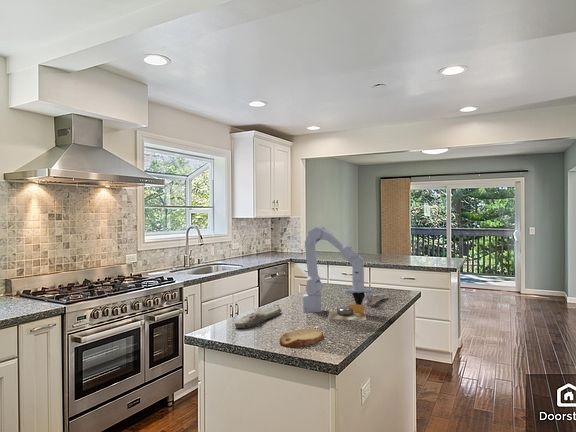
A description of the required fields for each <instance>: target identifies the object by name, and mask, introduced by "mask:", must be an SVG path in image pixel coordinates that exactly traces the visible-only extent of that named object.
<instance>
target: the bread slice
mask: <svg viewBox="0 0 576 432" xmlns="http://www.w3.org/2000/svg"><path fill="white" fill-rule="evenodd" d="M323 339H324V334H323V331H321V330H319V329H317V328H313V327H312V328H303V329H297V330H292V331H288V332H285V333H283V334H282V335H281V337H280V338H279V344H280V346H281V347H282V346H283V348H288V347H290V348H300V347H302V346H303V347H307V346H311V345H315V344H317V343H319V342H321V341H323Z"/></svg>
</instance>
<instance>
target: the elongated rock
mask: <svg viewBox="0 0 576 432" xmlns="http://www.w3.org/2000/svg"><path fill="white" fill-rule="evenodd" d="M282 311H283V310H282V309H281V307H270V308H266V309H264V310H261V311H258V312H251V313H250V314H249V313H248V314H246V315H245V316H242V317H241V318H239V319H237V320H236V321H235V323H234V327H235V328H236V329H247V328H251V327H252V328H253V327H255V326H259V325H261V323H263V322H266V321H267V320H269V319H270V320H271V319H272V318H275V317H276V316H278V315H280V314H281V313H282Z"/></svg>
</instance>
